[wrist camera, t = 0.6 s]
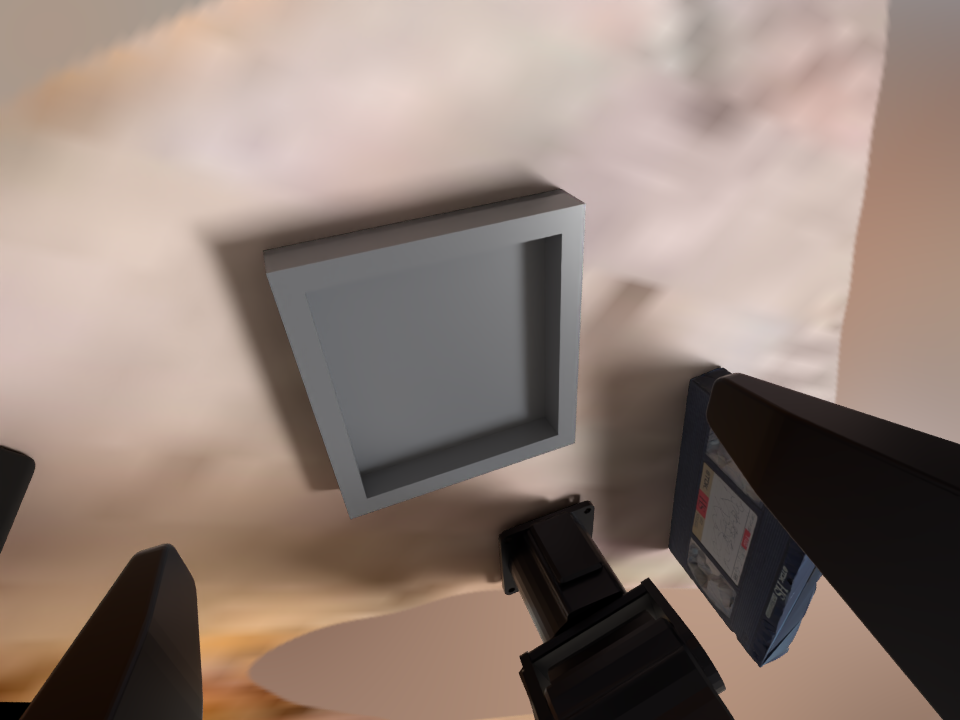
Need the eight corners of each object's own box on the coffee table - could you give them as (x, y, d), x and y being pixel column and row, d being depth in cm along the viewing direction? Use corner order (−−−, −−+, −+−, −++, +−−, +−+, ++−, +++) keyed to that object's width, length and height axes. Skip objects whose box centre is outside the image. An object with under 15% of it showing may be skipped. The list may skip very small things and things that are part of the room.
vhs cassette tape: (687, 375, 32) (829, 496, 25) (728, 360, 33) (878, 474, 25) (661, 551, 43) (753, 672, 36) (692, 537, 44) (789, 653, 36)
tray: (557, 419, 30) (575, 442, 28) (343, 489, 27) (350, 519, 25) (561, 188, 22) (585, 203, 21) (263, 250, 19) (265, 273, 18)
